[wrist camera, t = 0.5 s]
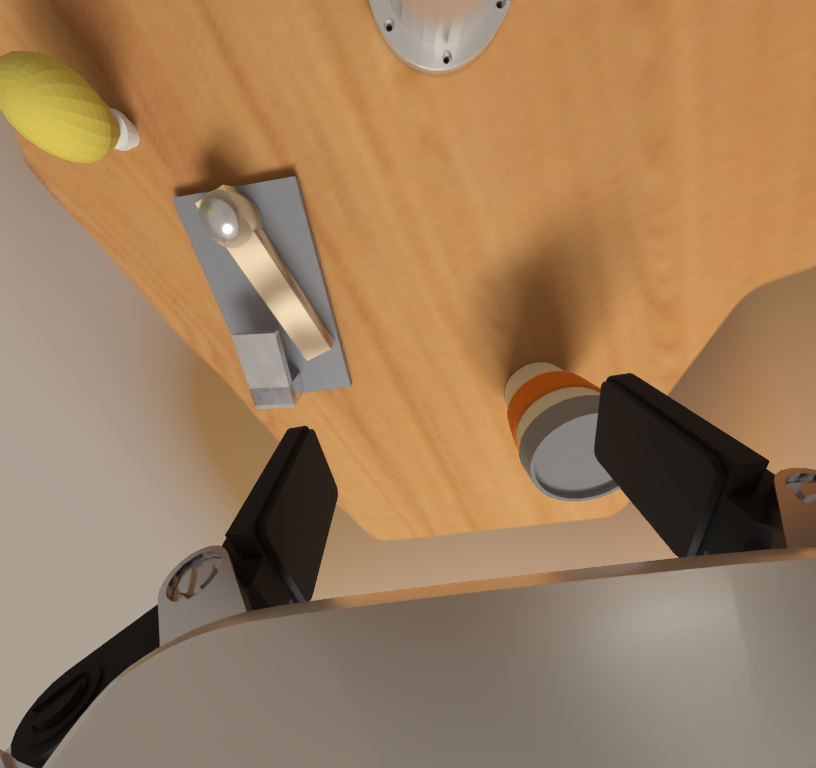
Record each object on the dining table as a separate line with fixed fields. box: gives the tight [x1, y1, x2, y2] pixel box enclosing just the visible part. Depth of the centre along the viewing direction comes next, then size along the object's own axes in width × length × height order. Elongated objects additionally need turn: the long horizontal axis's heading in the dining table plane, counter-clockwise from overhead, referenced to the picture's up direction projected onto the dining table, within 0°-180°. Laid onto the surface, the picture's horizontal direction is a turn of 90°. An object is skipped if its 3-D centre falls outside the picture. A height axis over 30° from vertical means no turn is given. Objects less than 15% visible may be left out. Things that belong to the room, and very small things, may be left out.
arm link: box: [195, 185, 335, 361], centre depth 35 cm, size 19×5×2 cm, turn 26°
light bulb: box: [0, 51, 140, 163], centre depth 26 cm, size 7×7×10 cm
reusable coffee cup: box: [504, 362, 620, 501], centre depth 38 cm, size 13×13×15 cm
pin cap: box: [198, 198, 240, 241], centre depth 30 cm, size 4×4×1 cm
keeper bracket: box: [231, 330, 305, 409], centre depth 39 cm, size 10×5×4 cm, turn 3°
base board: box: [172, 176, 352, 393], centre depth 38 cm, size 25×14×1 cm, turn 8°
